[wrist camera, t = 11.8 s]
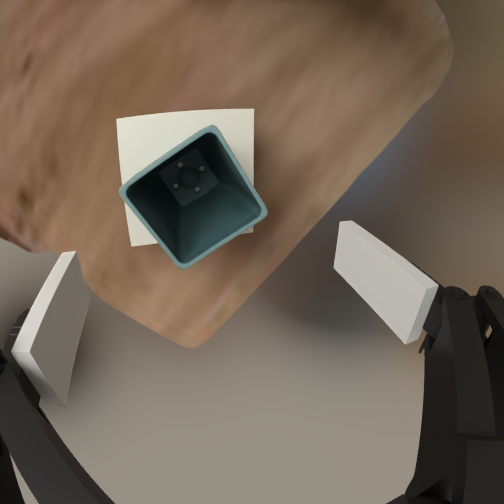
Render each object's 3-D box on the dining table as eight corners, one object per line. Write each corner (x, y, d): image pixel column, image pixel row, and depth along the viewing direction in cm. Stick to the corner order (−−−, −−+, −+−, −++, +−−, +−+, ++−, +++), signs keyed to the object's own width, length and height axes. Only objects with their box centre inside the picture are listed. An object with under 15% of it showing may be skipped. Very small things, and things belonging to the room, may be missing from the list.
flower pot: (177, 232, 32) (182, 273, 25) (129, 169, 28) (115, 191, 20) (244, 187, 32) (271, 215, 24) (201, 119, 28) (214, 121, 20)
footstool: (127, 117, 32) (116, 118, 25) (237, 109, 35) (253, 108, 28) (137, 221, 38) (131, 246, 31) (238, 210, 42) (253, 232, 35)
